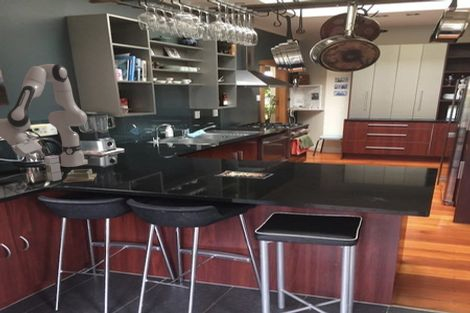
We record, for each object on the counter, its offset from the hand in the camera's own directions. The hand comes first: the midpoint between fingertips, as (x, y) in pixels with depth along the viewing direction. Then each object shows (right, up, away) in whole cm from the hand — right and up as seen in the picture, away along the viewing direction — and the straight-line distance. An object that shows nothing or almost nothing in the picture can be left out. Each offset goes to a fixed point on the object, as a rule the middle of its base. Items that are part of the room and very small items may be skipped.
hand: (39, 158), depth 194 cm
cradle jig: (+22, -13, +5) cm, 26 cm away
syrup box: (+7, -13, +3) cm, 15 cm away
